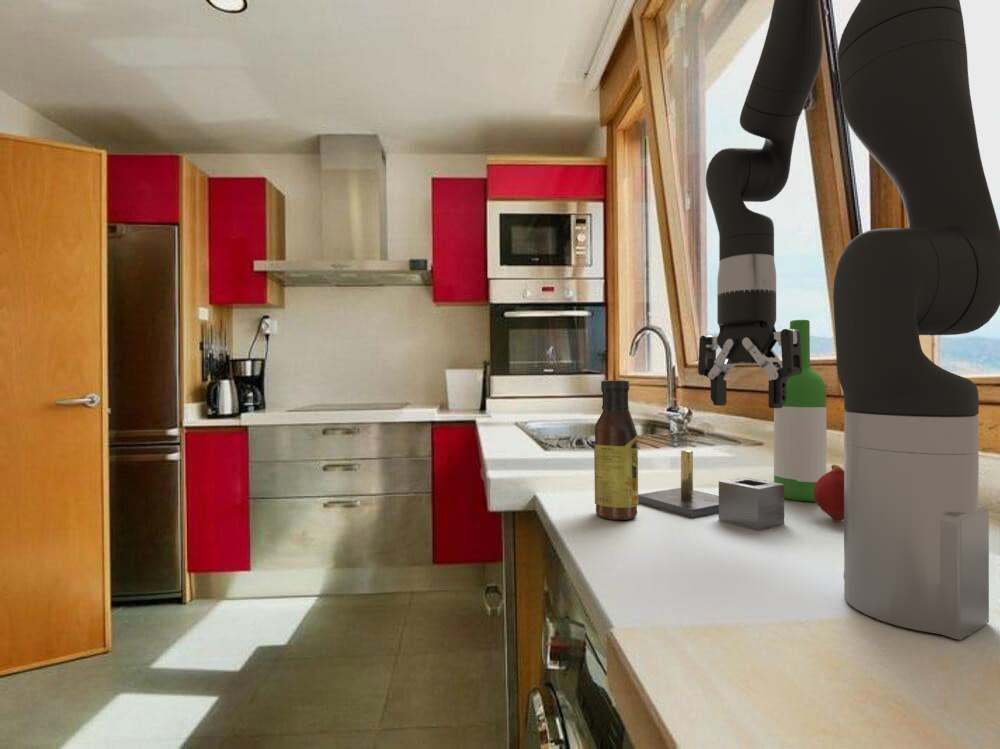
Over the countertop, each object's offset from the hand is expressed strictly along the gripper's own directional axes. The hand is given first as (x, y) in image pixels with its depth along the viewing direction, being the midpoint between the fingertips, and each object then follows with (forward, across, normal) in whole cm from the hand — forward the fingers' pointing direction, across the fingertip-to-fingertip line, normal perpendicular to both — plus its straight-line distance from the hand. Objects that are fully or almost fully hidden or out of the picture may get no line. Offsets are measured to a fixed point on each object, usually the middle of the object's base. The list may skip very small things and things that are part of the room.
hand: (746, 406), depth 73 cm
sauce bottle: (+16, +12, +14) cm, 24 cm away
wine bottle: (+16, +4, -22) cm, 27 cm away
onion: (+16, -6, -12) cm, 21 cm away
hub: (+16, +11, -1) cm, 19 cm away
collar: (+16, 0, -1) cm, 16 cm away
